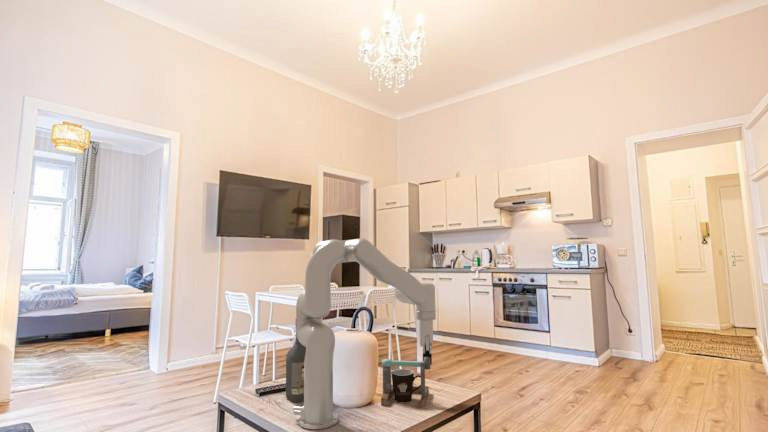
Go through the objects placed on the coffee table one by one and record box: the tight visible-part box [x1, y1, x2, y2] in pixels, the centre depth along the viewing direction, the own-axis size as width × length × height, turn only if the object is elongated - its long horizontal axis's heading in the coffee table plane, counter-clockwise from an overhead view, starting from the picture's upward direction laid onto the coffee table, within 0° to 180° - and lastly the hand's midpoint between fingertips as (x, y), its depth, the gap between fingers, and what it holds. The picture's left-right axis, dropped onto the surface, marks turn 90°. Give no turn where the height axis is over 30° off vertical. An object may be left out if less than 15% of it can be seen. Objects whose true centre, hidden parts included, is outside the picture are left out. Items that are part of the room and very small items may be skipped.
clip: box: [381, 357, 431, 370], centre depth 149 cm, size 18×4×4 cm, turn 79°
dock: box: [380, 362, 430, 409], centre depth 150 cm, size 16×16×14 cm
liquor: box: [285, 328, 306, 403], centre depth 153 cm, size 9×9×30 cm
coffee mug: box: [391, 368, 421, 404], centre depth 148 cm, size 12×9×10 cm
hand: (427, 364), depth 151 cm, fingers closed
